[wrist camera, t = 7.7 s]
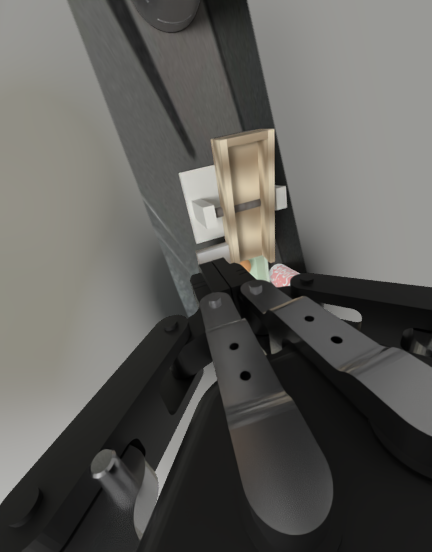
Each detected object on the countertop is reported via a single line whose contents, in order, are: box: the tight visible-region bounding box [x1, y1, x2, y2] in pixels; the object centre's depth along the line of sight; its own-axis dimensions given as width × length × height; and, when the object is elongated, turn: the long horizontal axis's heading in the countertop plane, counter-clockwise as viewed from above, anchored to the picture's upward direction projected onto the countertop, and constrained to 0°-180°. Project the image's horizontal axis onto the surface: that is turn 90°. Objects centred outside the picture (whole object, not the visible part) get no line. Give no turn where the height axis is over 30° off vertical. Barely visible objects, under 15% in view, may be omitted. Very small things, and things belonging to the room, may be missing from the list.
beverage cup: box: [269, 264, 300, 287], centre depth 44 cm, size 6×6×14 cm
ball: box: [240, 260, 251, 272], centre depth 44 cm, size 4×4×4 cm
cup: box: [248, 255, 270, 283], centre depth 45 cm, size 11×9×5 cm
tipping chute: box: [196, 129, 275, 264], centre depth 32 cm, size 18×12×5 cm
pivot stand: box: [179, 165, 287, 244], centre depth 36 cm, size 12×14×10 cm
